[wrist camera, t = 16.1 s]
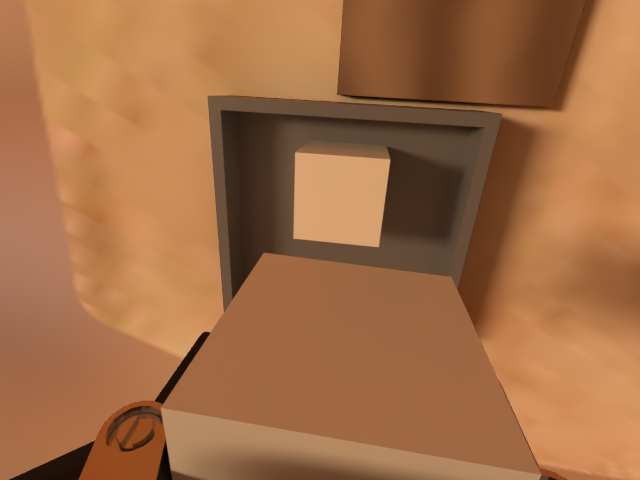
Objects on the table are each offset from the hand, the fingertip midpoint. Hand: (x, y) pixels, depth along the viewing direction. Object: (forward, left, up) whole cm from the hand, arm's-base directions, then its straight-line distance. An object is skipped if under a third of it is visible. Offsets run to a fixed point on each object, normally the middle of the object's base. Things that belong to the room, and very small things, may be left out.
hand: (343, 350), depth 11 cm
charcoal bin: (+1, +2, -18) cm, 18 cm away
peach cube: (+1, -1, -17) cm, 17 cm away
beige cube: (0, 0, 0) cm, 0 cm away
